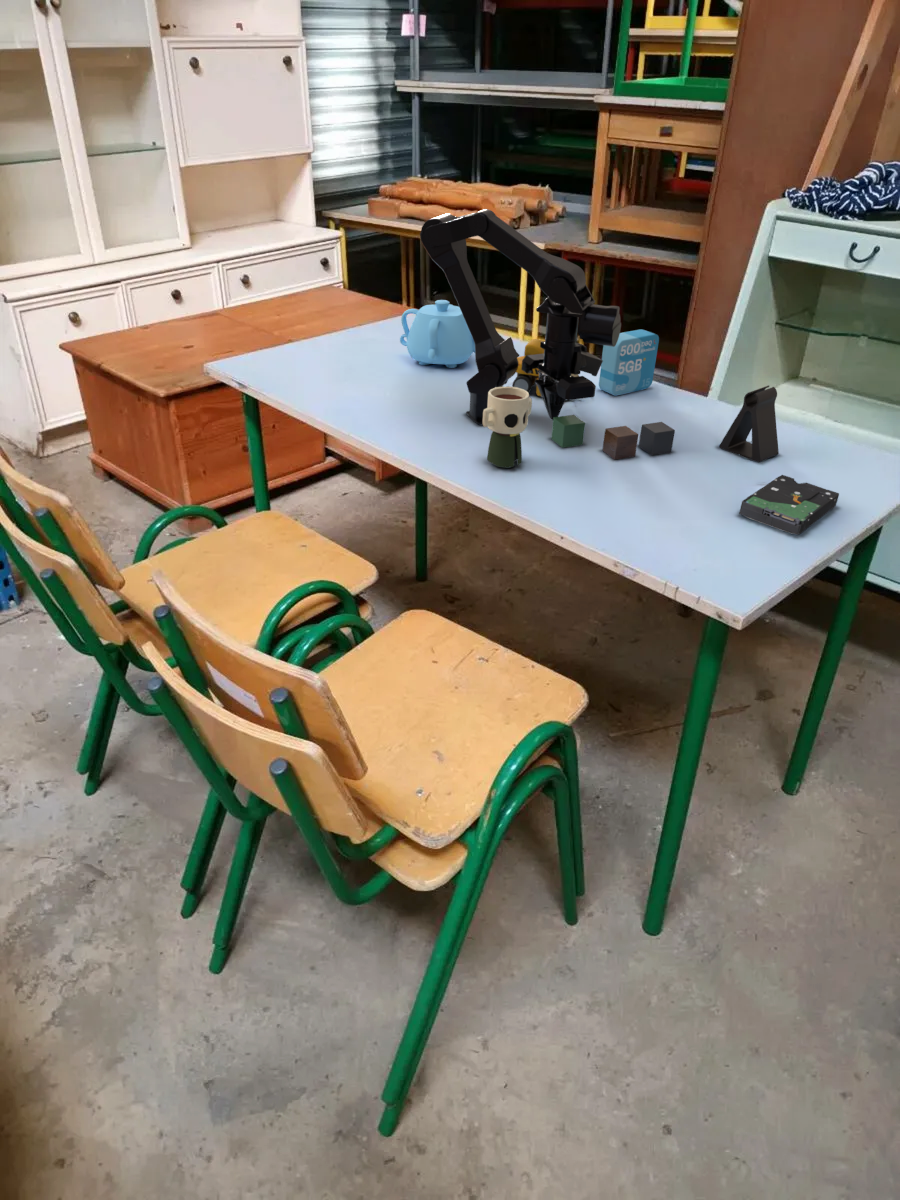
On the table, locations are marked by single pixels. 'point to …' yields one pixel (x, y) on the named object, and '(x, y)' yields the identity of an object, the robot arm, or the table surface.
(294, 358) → the table surface
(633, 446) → the walnut block
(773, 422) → the black triangular stand
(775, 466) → the table surface
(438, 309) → the decorative pot
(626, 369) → the data package
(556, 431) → the green block
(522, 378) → the toy roller
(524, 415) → the character mug
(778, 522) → the disk drive
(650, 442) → the charcoal block
